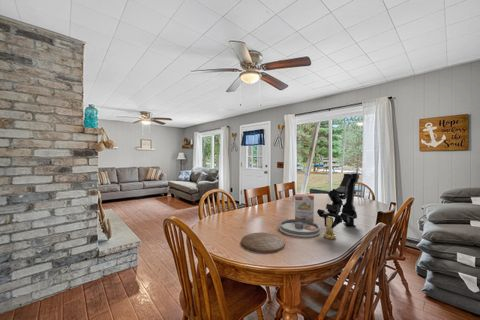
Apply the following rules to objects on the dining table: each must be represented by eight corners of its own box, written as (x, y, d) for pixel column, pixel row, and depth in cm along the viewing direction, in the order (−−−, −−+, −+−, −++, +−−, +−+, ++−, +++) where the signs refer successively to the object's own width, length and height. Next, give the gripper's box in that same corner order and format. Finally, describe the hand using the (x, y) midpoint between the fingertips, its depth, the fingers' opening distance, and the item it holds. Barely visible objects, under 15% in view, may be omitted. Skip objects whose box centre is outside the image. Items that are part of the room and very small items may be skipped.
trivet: (235, 238, 126) (235, 235, 126) (271, 233, 135) (271, 230, 135) (252, 257, 102) (252, 253, 102) (293, 249, 111) (293, 245, 111)
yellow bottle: (322, 234, 130) (322, 216, 130) (333, 235, 130) (333, 216, 130) (325, 239, 123) (325, 219, 123) (337, 239, 123) (337, 219, 123)
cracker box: (294, 221, 158) (294, 194, 158) (295, 219, 164) (295, 193, 164) (313, 223, 154) (313, 195, 154) (313, 221, 160) (313, 194, 160)
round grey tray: (277, 222, 156) (277, 216, 156) (314, 223, 153) (314, 217, 153) (281, 236, 129) (281, 229, 129) (325, 237, 126) (325, 230, 126)
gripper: (318, 197, 136) (309, 216, 129) (348, 201, 122) (340, 223, 115) (323, 206, 141) (315, 226, 134) (352, 211, 128) (345, 233, 120)
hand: (328, 227), depth 126 cm, fingers closed on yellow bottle, 4 cm apart
